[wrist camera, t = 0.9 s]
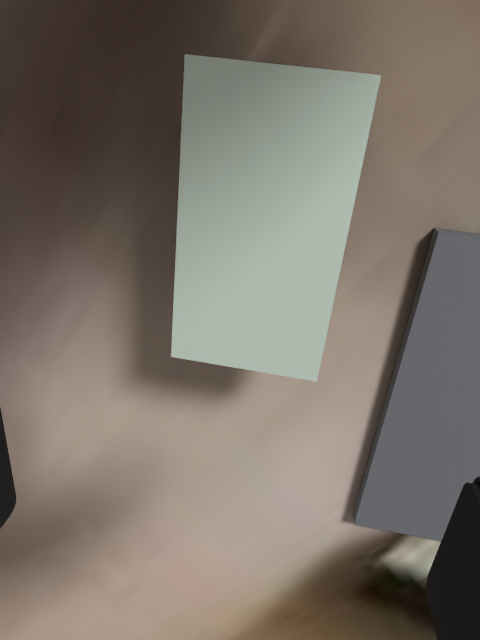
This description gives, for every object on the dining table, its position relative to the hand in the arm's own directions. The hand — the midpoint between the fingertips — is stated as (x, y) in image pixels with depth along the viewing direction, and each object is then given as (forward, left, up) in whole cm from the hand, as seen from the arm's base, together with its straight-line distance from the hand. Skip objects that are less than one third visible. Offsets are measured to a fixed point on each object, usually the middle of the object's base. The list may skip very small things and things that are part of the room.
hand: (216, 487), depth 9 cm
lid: (-2, -1, -15) cm, 15 cm away
